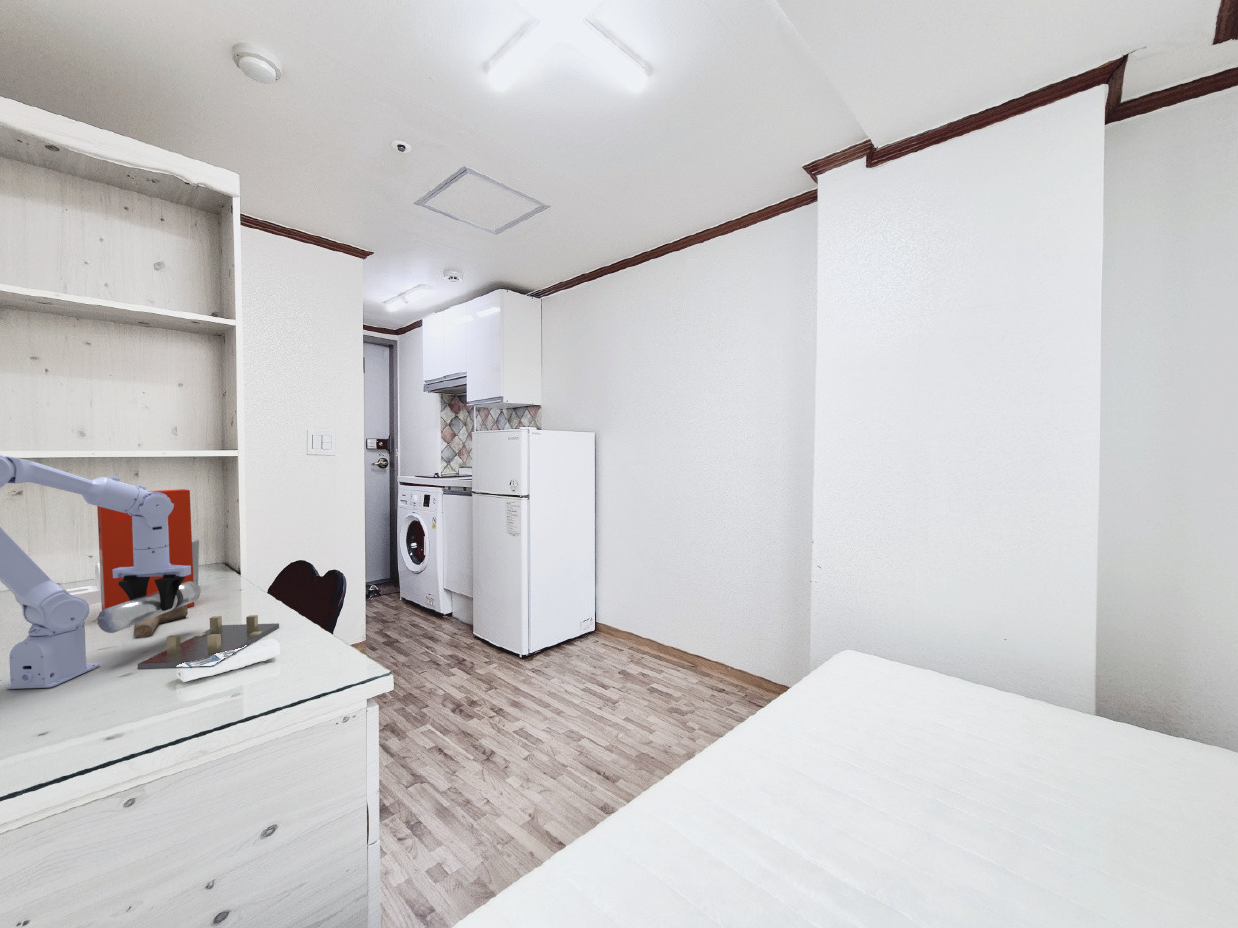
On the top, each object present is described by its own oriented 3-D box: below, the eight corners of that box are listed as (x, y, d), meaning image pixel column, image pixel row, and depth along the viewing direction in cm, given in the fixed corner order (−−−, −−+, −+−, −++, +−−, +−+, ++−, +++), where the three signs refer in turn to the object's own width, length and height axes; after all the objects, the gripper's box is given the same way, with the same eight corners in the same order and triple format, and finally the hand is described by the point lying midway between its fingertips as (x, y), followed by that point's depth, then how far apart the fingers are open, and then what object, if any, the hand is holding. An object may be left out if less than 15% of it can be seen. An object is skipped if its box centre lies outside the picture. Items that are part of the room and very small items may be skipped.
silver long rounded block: (124, 632, 101) (123, 604, 101) (97, 633, 101) (96, 605, 101) (201, 601, 121) (200, 578, 121) (178, 602, 121) (177, 579, 121)
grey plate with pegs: (212, 666, 102) (211, 643, 101) (137, 668, 101) (136, 646, 101) (279, 627, 124) (278, 608, 123) (218, 629, 123) (217, 610, 123)
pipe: (125, 621, 115) (183, 604, 122) (132, 603, 128) (184, 590, 134) (133, 647, 116) (190, 630, 123) (139, 627, 129) (190, 613, 135)
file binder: (102, 616, 133) (96, 493, 132) (187, 601, 146) (183, 488, 145) (105, 623, 128) (100, 495, 127) (194, 606, 141) (190, 490, 140)
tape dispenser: (151, 594, 154) (150, 558, 154) (63, 609, 140) (61, 570, 140) (145, 589, 160) (143, 554, 160) (60, 602, 147) (58, 565, 146)
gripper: (200, 542, 115) (202, 603, 116) (132, 544, 114) (134, 604, 115) (175, 549, 108) (177, 613, 108) (102, 550, 107) (105, 615, 108)
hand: (153, 609), depth 111 cm, fingers closed on silver long rounded block, 5 cm apart
